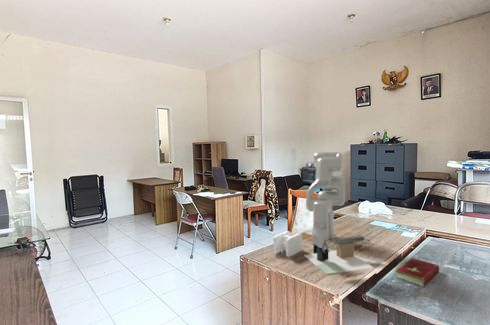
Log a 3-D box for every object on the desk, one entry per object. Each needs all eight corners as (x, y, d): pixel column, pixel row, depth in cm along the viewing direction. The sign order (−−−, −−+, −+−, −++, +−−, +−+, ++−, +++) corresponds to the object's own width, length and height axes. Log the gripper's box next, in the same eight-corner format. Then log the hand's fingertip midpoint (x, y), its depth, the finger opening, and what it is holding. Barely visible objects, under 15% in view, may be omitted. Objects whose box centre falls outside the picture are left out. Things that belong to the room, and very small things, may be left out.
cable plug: (315, 258, 147) (315, 246, 146) (322, 257, 148) (322, 245, 147) (319, 261, 143) (319, 248, 142) (326, 260, 144) (326, 247, 143)
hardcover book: (439, 273, 131) (439, 264, 131) (424, 288, 118) (424, 279, 118) (411, 265, 141) (411, 257, 140) (394, 278, 127) (395, 269, 127)
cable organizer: (287, 260, 149) (287, 239, 148) (272, 255, 156) (272, 235, 155) (302, 252, 159) (302, 233, 158) (288, 248, 167) (288, 229, 166)
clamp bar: (332, 242, 148) (332, 238, 148) (360, 238, 153) (360, 235, 153) (335, 244, 145) (335, 240, 145) (364, 240, 150) (364, 236, 150)
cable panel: (303, 257, 151) (303, 241, 151) (344, 252, 158) (344, 236, 157) (327, 277, 128) (327, 258, 128) (373, 270, 135) (373, 252, 134)
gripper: (306, 220, 151) (306, 251, 152) (323, 230, 135) (323, 263, 136) (318, 219, 153) (318, 249, 154) (336, 228, 136) (336, 262, 138)
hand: (320, 256), depth 145 cm, fingers open, 8 cm apart
